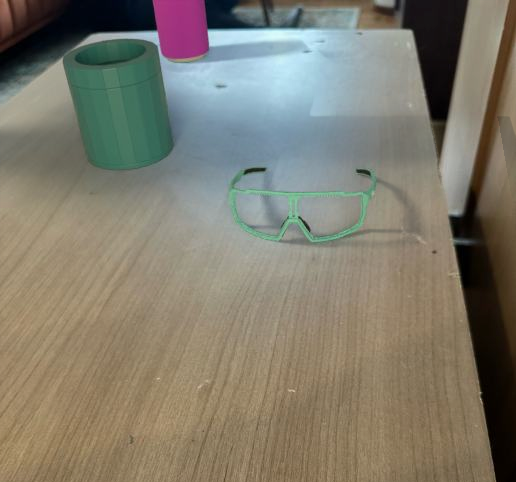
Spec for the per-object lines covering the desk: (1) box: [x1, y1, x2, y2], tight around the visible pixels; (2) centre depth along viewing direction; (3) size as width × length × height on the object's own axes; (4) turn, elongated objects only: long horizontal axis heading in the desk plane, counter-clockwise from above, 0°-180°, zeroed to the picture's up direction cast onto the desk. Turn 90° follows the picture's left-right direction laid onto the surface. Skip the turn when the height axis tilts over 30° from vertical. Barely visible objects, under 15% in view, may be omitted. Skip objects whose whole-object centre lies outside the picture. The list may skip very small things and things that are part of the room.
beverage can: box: [152, 0, 210, 64], centre depth 98 cm, size 8×8×12 cm
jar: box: [61, 38, 174, 171], centre depth 73 cm, size 10×10×11 cm
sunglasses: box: [228, 166, 377, 243], centre depth 63 cm, size 14×15×5 cm
